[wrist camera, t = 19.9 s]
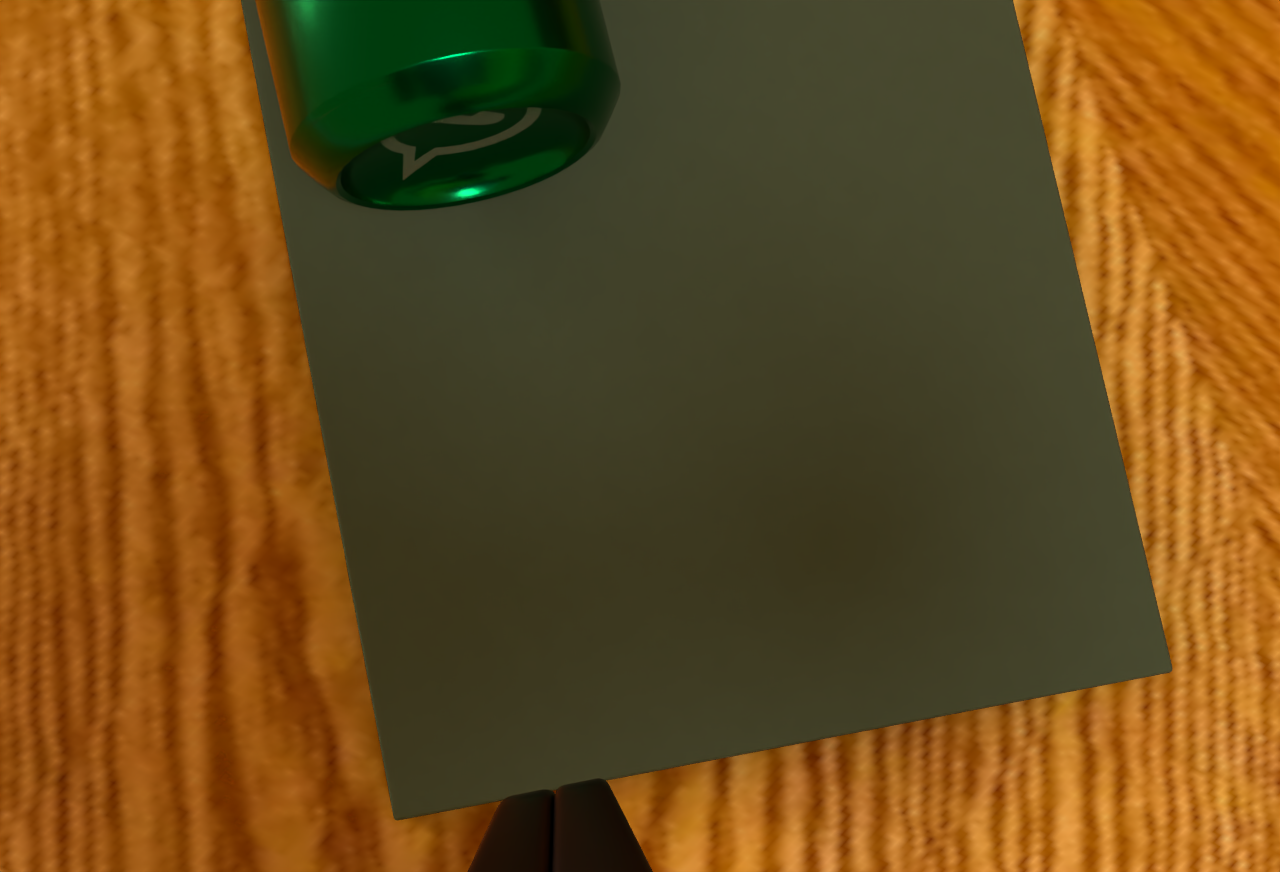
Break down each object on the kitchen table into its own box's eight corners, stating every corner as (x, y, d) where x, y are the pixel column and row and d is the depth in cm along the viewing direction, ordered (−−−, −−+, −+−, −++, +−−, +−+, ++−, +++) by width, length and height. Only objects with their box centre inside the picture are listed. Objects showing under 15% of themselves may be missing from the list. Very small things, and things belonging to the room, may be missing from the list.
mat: (1163, 668, 20) (1174, 672, 19) (401, 814, 21) (393, 822, 20) (871, -560, 22) (873, -584, 21) (180, -369, 23) (167, -388, 22)
